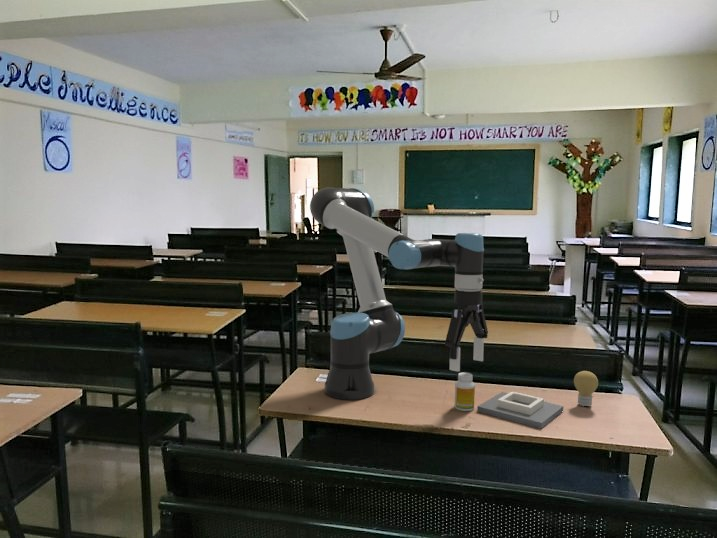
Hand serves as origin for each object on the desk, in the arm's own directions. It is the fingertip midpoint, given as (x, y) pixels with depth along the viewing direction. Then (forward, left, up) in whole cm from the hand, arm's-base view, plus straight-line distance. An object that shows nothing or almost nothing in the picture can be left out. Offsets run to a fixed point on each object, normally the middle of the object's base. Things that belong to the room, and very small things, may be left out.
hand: (466, 365), depth 149 cm
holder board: (+13, +8, -12) cm, 19 cm away
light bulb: (+25, +25, -13) cm, 37 cm away
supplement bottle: (0, 0, -13) cm, 13 cm away
